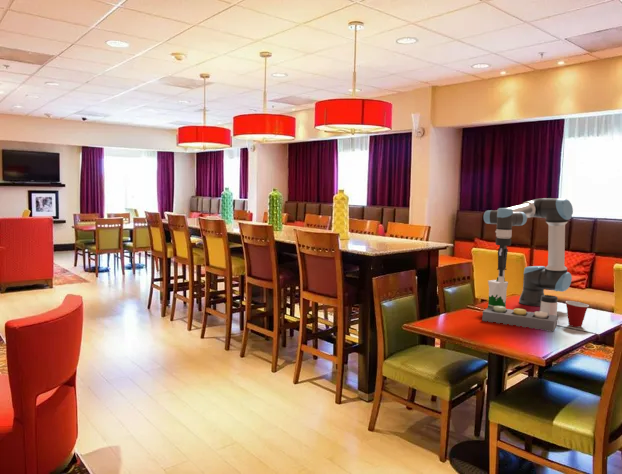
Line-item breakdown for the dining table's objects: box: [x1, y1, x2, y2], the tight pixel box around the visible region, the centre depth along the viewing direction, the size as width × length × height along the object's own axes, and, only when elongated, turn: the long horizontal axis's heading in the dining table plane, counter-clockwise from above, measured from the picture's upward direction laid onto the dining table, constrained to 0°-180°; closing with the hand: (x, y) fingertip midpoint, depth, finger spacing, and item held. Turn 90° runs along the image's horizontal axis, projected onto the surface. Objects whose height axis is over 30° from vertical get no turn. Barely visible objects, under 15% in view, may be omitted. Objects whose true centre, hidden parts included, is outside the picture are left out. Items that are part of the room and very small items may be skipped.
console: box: [481, 306, 559, 332], centre depth 258 cm, size 14×34×5 cm, turn 57°
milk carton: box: [487, 276, 509, 308], centre depth 278 cm, size 9×9×20 cm
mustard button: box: [513, 307, 527, 315], centre depth 257 cm, size 6×6×2 cm
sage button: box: [494, 306, 507, 312], centre depth 263 cm, size 6×6×2 cm
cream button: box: [533, 310, 548, 318], centre depth 252 cm, size 6×6×2 cm
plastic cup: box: [565, 300, 590, 328], centre depth 254 cm, size 11×11×12 cm
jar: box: [539, 294, 559, 316], centre depth 268 cm, size 9×8×12 cm
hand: (501, 282), depth 261 cm, fingers closed
